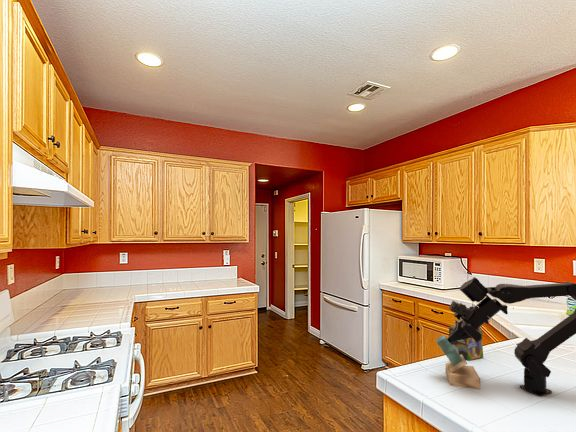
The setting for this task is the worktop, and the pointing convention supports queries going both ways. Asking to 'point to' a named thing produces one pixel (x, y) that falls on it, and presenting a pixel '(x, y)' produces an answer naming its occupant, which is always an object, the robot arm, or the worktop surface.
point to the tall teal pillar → (451, 354)
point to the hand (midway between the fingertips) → (448, 340)
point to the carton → (463, 377)
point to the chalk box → (468, 347)
